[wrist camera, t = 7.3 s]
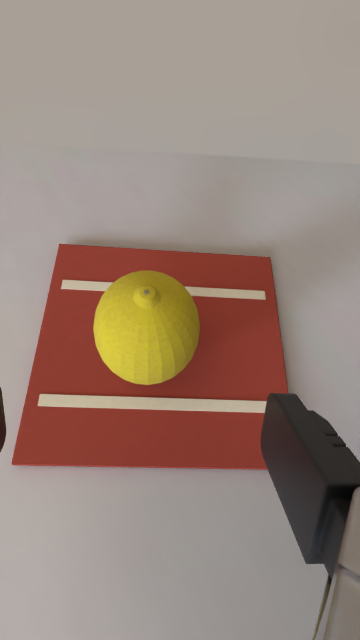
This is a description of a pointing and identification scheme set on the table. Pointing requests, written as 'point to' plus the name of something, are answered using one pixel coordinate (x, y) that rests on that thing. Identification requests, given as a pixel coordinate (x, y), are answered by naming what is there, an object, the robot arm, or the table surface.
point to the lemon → (146, 327)
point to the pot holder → (162, 398)
